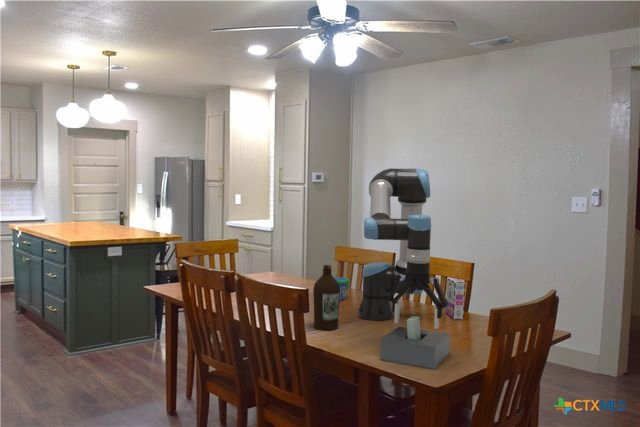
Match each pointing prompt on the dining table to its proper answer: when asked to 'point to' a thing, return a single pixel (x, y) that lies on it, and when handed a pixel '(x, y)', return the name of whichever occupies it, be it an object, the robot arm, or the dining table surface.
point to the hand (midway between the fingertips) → (416, 325)
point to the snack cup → (342, 286)
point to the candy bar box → (455, 298)
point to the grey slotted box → (415, 348)
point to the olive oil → (326, 301)
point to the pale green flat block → (413, 328)
